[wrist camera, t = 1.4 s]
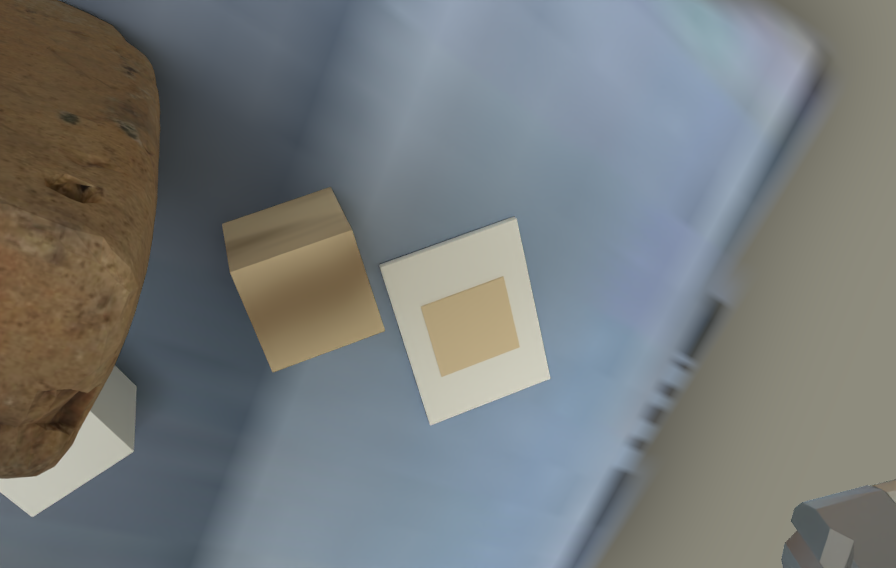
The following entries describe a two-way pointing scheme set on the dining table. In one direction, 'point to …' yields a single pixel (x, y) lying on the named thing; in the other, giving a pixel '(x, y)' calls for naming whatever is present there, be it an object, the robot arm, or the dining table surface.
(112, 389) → the grey cube
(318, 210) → the oak cube
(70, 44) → the block
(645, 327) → the dining table surface
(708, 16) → the dining table surface
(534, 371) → the card
